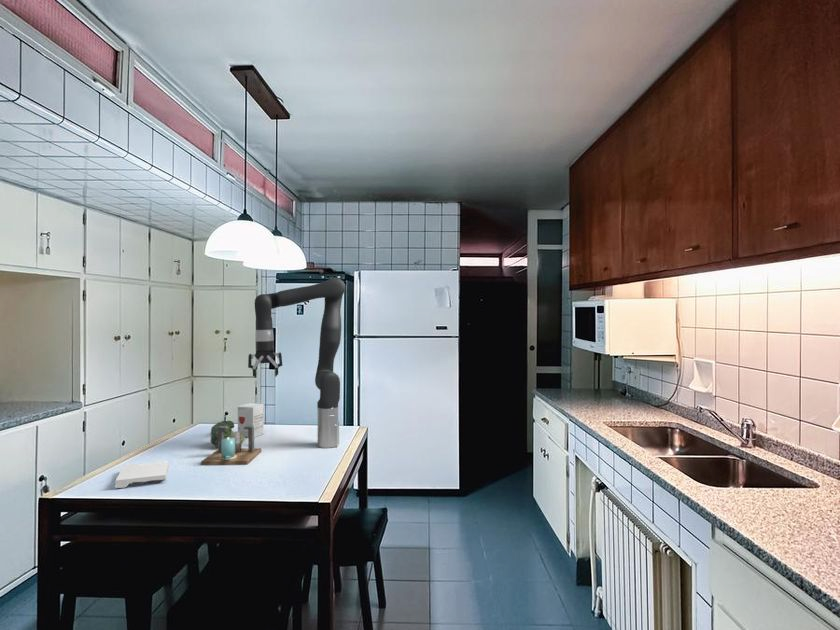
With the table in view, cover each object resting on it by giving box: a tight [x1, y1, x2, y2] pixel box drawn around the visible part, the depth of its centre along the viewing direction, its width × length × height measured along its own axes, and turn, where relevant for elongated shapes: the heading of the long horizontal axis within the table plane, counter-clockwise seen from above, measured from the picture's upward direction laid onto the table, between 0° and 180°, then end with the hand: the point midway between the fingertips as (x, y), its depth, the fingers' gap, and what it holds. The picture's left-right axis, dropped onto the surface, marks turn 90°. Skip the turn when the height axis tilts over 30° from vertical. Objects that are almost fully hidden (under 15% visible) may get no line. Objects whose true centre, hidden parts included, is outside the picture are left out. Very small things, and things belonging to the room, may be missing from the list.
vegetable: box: [210, 420, 245, 447], centre depth 221 cm, size 12×13×15 cm
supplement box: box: [237, 402, 265, 439], centre depth 239 cm, size 9×9×15 cm
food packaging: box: [114, 460, 170, 489], centre depth 178 cm, size 15×3×20 cm
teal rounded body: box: [221, 437, 235, 460], centre depth 196 cm, size 9×5×7 cm, turn 19°
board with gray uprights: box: [200, 426, 262, 466], centre depth 201 cm, size 18×18×12 cm
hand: (265, 376), depth 215 cm, fingers open, 8 cm apart
